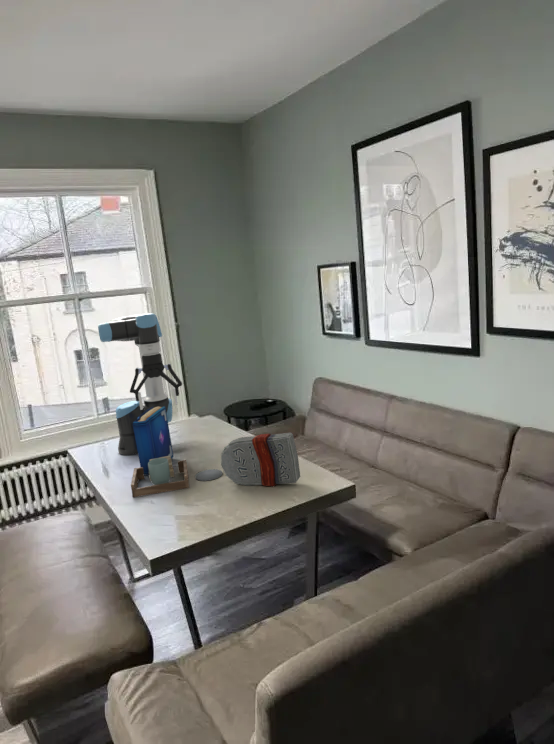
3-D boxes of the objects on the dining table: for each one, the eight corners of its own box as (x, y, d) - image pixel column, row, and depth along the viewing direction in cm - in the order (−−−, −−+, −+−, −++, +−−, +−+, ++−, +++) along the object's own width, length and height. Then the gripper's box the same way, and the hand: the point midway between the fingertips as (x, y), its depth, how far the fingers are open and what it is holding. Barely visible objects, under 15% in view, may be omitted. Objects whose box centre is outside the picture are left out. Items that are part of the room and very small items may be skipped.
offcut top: (150, 465, 230) (149, 459, 229) (170, 461, 232) (169, 455, 232) (151, 468, 226) (150, 462, 225) (172, 464, 228) (171, 458, 228)
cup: (175, 481, 223) (171, 458, 221) (163, 489, 216) (159, 465, 214) (159, 480, 227) (155, 457, 225) (147, 488, 220) (143, 464, 218)
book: (155, 477, 231) (145, 419, 226) (139, 477, 233) (129, 420, 228) (174, 458, 252) (166, 405, 247) (159, 458, 253) (151, 406, 249)
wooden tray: (135, 479, 230) (134, 468, 229) (187, 471, 234) (186, 459, 233) (132, 497, 212) (130, 485, 211) (189, 487, 215) (187, 475, 214)
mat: (194, 473, 230) (194, 471, 230) (221, 468, 232) (221, 467, 232) (195, 482, 220) (195, 481, 220) (223, 478, 222) (223, 476, 221)
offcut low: (149, 478, 231) (148, 472, 231) (174, 473, 233) (173, 467, 233) (150, 482, 227) (148, 475, 227) (174, 477, 229) (173, 471, 229)
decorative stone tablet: (294, 430, 206) (221, 437, 217) (288, 435, 200) (214, 442, 211) (303, 479, 209) (231, 483, 220) (298, 486, 203) (225, 490, 214)
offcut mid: (149, 472, 231) (148, 465, 230) (171, 467, 233) (170, 461, 233) (150, 475, 226) (149, 469, 226) (173, 470, 229) (172, 464, 229)
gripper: (117, 359, 211) (126, 413, 215) (183, 350, 214) (190, 404, 218) (119, 356, 218) (128, 408, 222) (183, 348, 221) (190, 399, 225)
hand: (159, 406), depth 220 cm, fingers open, 13 cm apart
